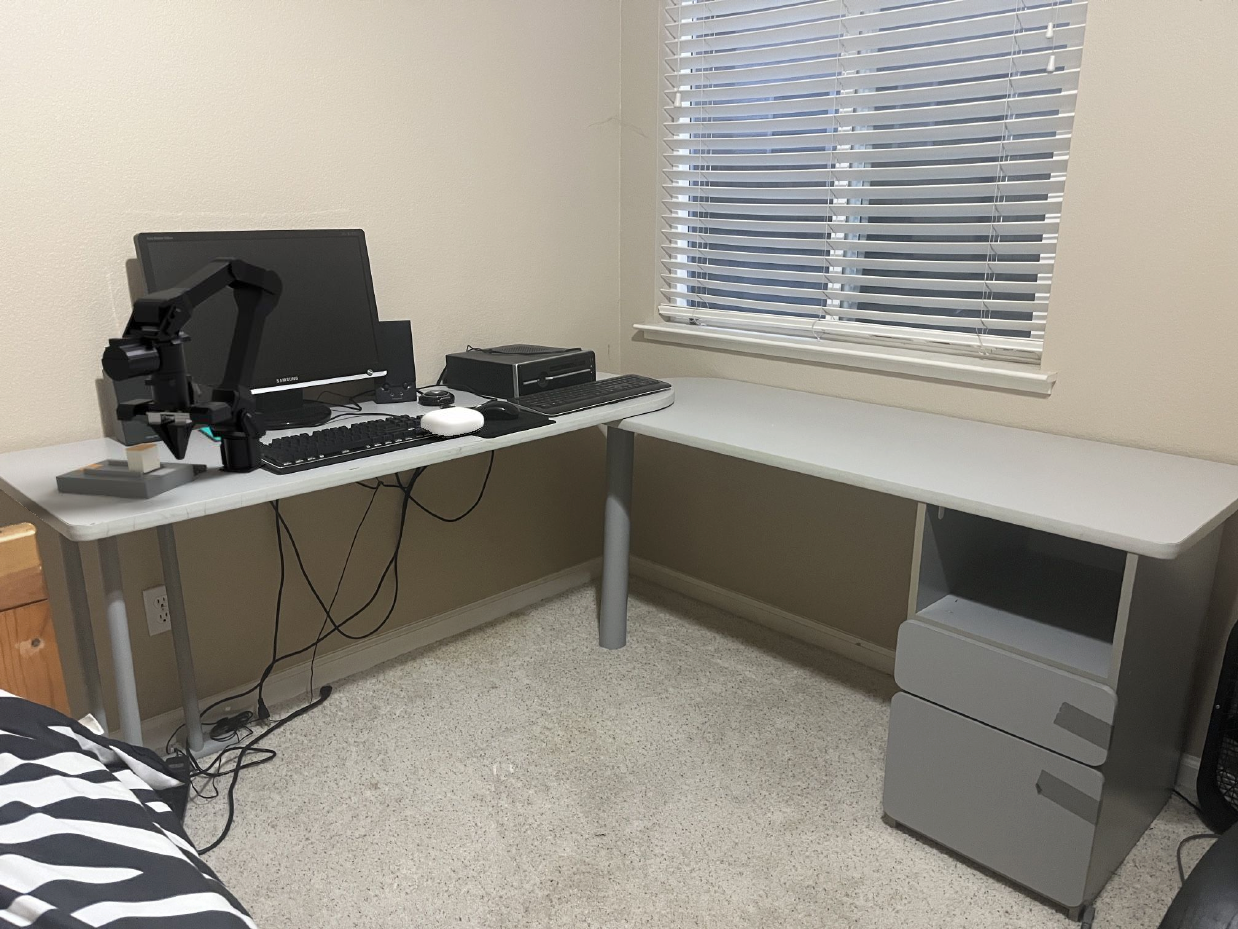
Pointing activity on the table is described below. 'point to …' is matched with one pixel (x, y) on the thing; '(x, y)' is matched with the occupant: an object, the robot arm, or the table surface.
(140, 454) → the toggle
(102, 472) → the grey tray
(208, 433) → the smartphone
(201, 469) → the grey thin rod
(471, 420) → the earbud case
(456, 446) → the table surface
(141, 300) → the robot arm
